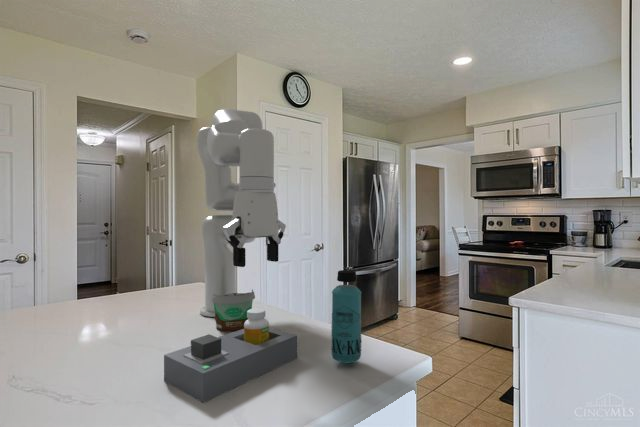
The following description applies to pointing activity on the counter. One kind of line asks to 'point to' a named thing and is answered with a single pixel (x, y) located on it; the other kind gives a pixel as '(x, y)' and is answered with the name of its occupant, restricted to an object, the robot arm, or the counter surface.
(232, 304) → the food container
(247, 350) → the control panel
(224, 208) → the robot arm
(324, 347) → the counter surface
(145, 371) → the counter surface
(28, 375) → the counter surface
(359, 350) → the beverage bottle
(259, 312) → the supplement bottle
